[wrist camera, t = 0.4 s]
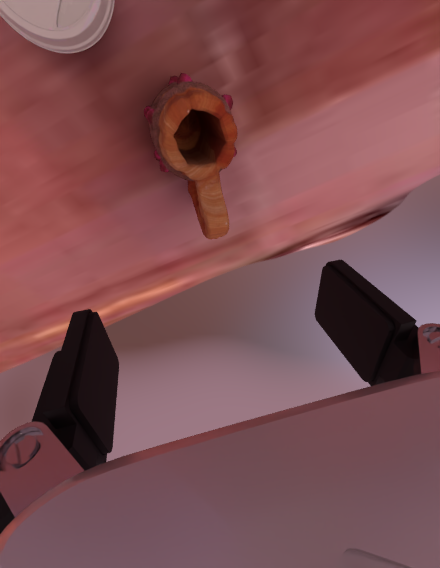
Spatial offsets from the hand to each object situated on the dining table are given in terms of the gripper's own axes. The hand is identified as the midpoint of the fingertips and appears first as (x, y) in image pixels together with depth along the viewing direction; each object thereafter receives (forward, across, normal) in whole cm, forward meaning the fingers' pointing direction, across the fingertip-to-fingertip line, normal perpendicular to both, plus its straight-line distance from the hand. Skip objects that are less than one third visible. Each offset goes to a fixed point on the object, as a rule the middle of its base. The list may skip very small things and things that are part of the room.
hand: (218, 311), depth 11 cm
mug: (+30, -3, -2) cm, 30 cm away
